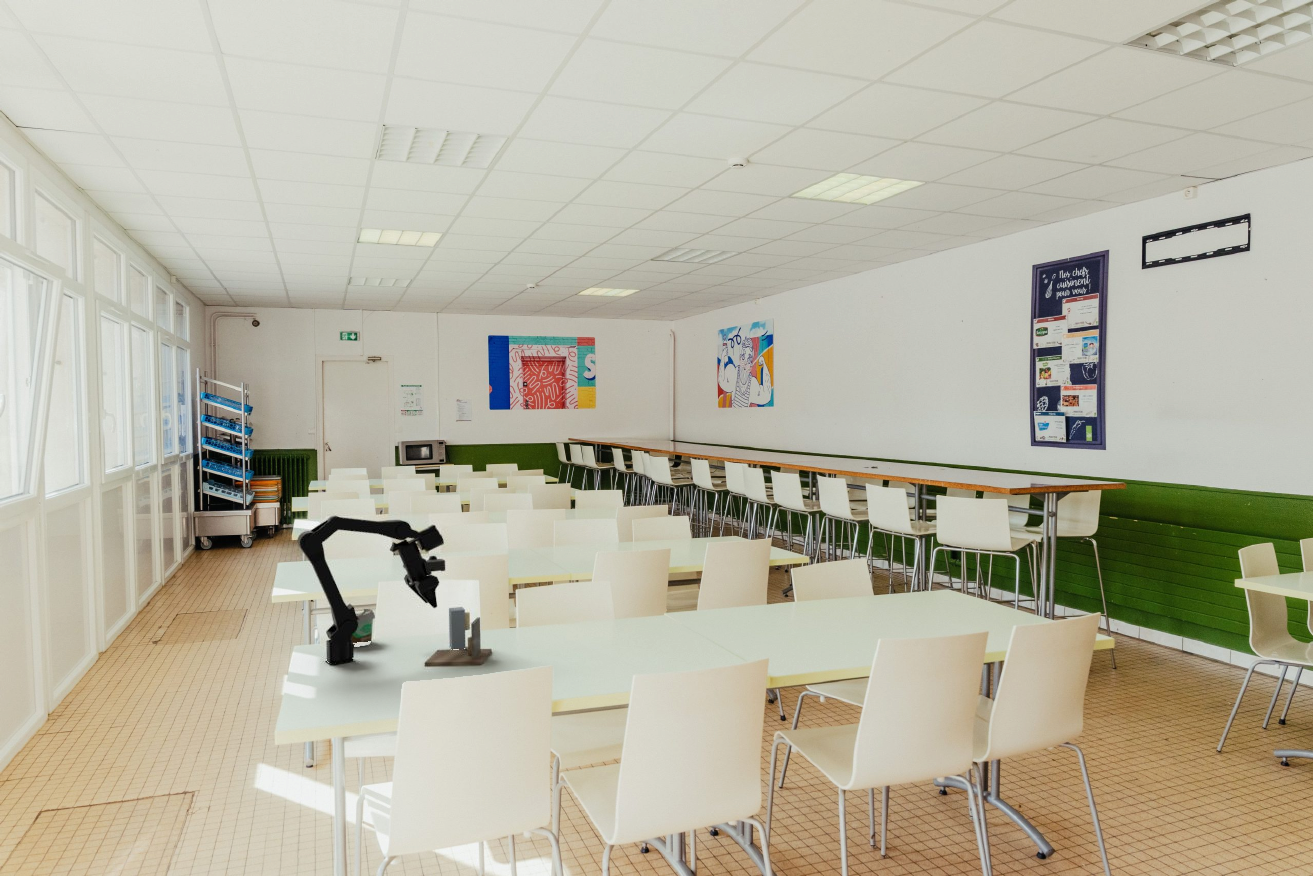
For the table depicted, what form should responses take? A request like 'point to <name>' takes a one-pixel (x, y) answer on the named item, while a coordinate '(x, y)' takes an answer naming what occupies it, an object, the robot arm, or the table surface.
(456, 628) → the loose hinge leaf
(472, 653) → the hinge jig
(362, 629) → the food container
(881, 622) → the table surface
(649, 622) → the table surface
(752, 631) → the table surface
